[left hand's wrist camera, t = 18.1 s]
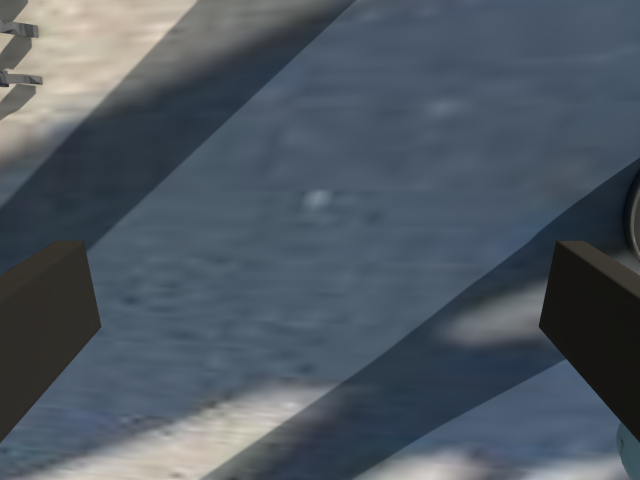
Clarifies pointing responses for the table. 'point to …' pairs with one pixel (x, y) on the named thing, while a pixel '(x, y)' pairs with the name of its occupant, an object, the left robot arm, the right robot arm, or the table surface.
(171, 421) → the table surface
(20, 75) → the toy
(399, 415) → the table surface
